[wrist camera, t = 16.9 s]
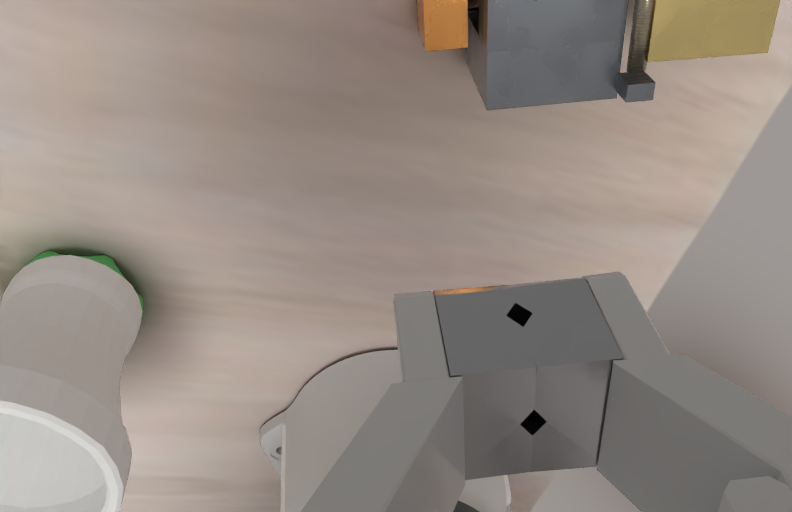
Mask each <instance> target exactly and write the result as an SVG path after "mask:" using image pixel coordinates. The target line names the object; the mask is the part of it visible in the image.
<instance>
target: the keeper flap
mask: <svg viewBox="0 0 792 512" xmlns="http://www.w3.org/2000/svg"><path fill="white" fill-rule="evenodd" d="M779 3H780V0H635V7H634V15H633V23H632V31H631V39H630V47H629V55H628V63H627V72H629V73H632V74H641V73H644V72H645V71H646V65H647V62H656V61H669V60H681V59H694V58H707V57H719V56H732V55H744V54H757V53H768V50H769V45H770V41H771V37H772V33H773V29H774V24H775V20H776V16H777V12H778V8H779Z"/></svg>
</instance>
